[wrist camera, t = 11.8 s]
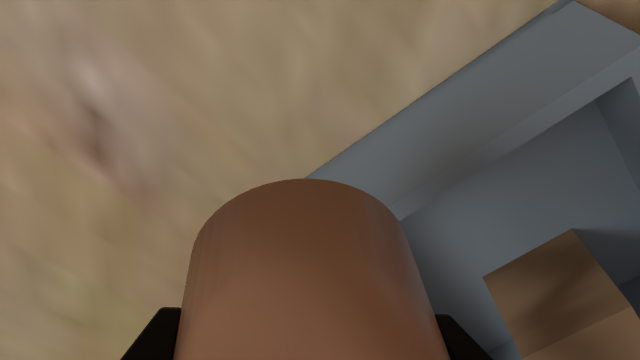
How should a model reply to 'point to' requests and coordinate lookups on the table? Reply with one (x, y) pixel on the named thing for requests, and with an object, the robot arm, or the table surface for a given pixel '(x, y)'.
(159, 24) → the table surface
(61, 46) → the table surface
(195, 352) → the terracotta capsule
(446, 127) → the tote
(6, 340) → the table surface
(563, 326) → the walnut cube
